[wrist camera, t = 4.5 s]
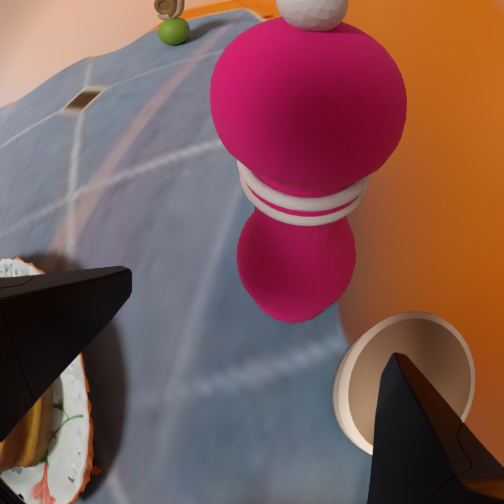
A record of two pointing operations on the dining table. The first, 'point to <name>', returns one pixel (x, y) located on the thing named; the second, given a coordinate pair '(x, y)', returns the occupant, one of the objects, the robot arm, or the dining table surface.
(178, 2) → the snail figurine
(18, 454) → the food on plate
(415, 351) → the round bowl
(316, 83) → the pepper mill
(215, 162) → the dining table surface
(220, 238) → the dining table surface
